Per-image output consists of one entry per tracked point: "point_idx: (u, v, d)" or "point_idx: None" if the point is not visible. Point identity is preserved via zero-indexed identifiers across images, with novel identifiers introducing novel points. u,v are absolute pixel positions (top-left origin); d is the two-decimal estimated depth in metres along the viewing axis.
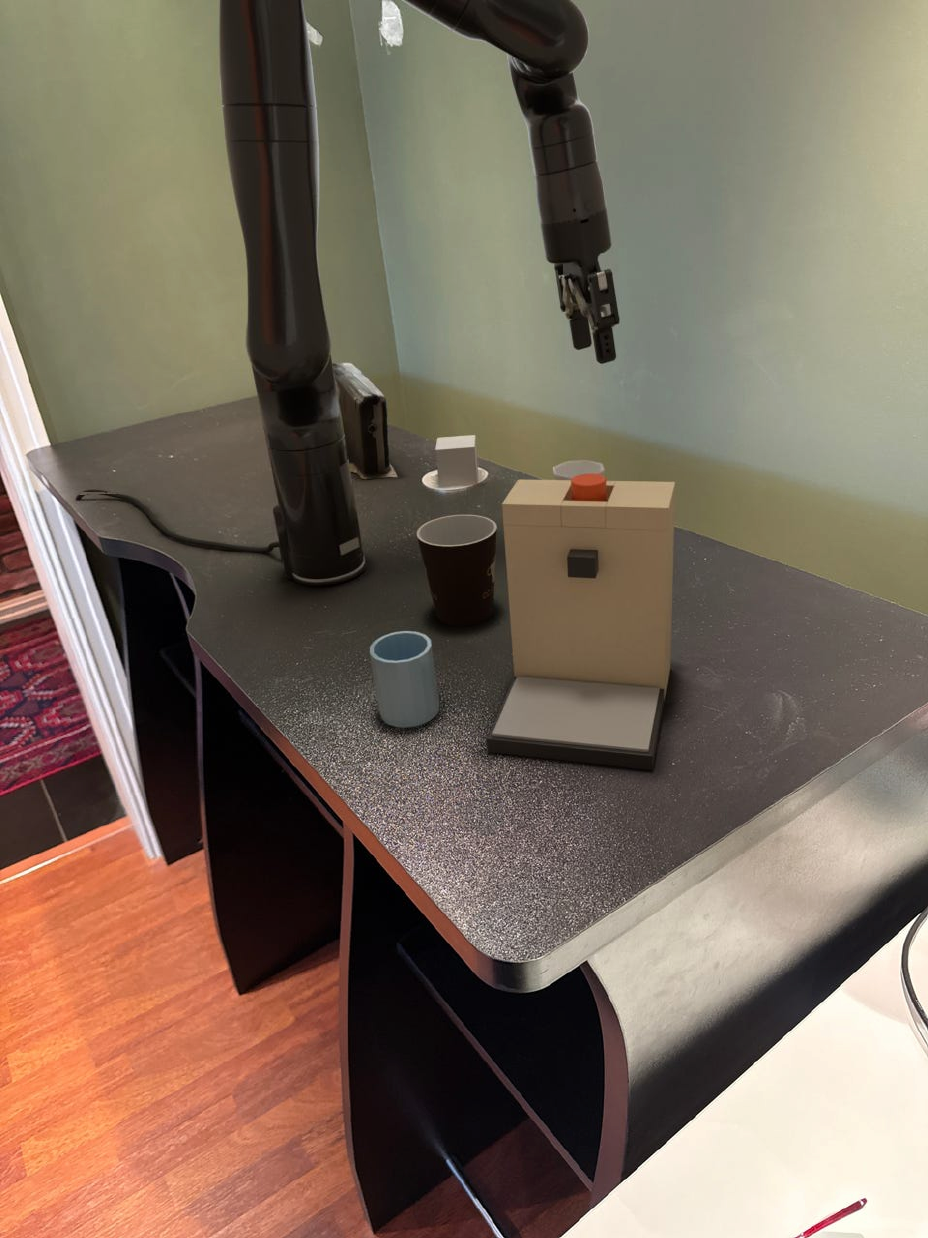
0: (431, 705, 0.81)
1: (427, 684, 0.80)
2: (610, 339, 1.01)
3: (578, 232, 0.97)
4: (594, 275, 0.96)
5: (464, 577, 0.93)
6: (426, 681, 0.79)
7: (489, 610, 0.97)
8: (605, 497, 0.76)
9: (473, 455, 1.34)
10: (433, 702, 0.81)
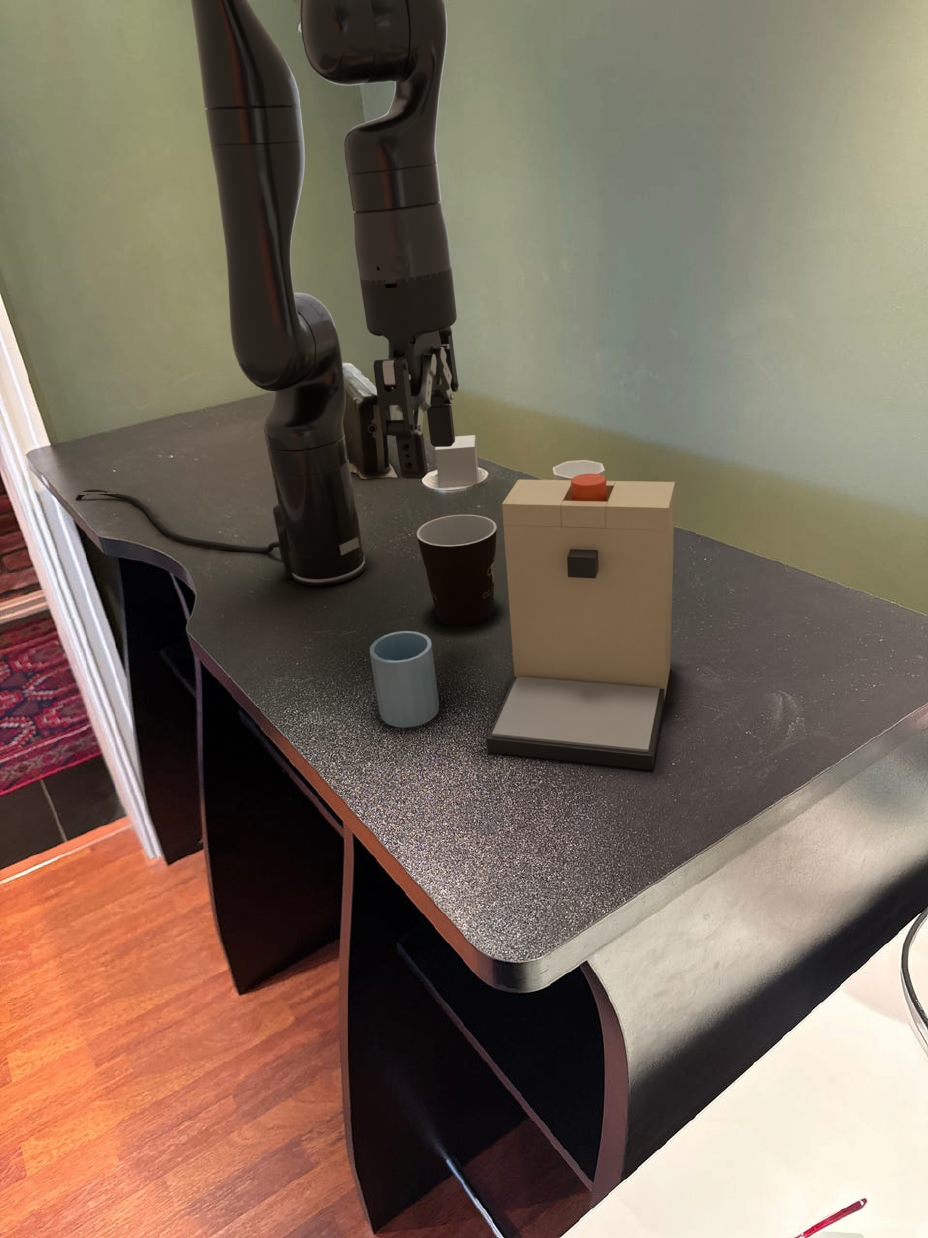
0: (431, 705, 0.81)
1: (427, 684, 0.80)
2: (412, 451, 0.73)
3: (383, 299, 0.69)
4: (379, 363, 0.69)
5: (464, 577, 0.93)
6: (426, 681, 0.79)
7: (489, 610, 0.97)
8: (605, 497, 0.76)
9: (473, 455, 1.34)
10: (433, 702, 0.81)
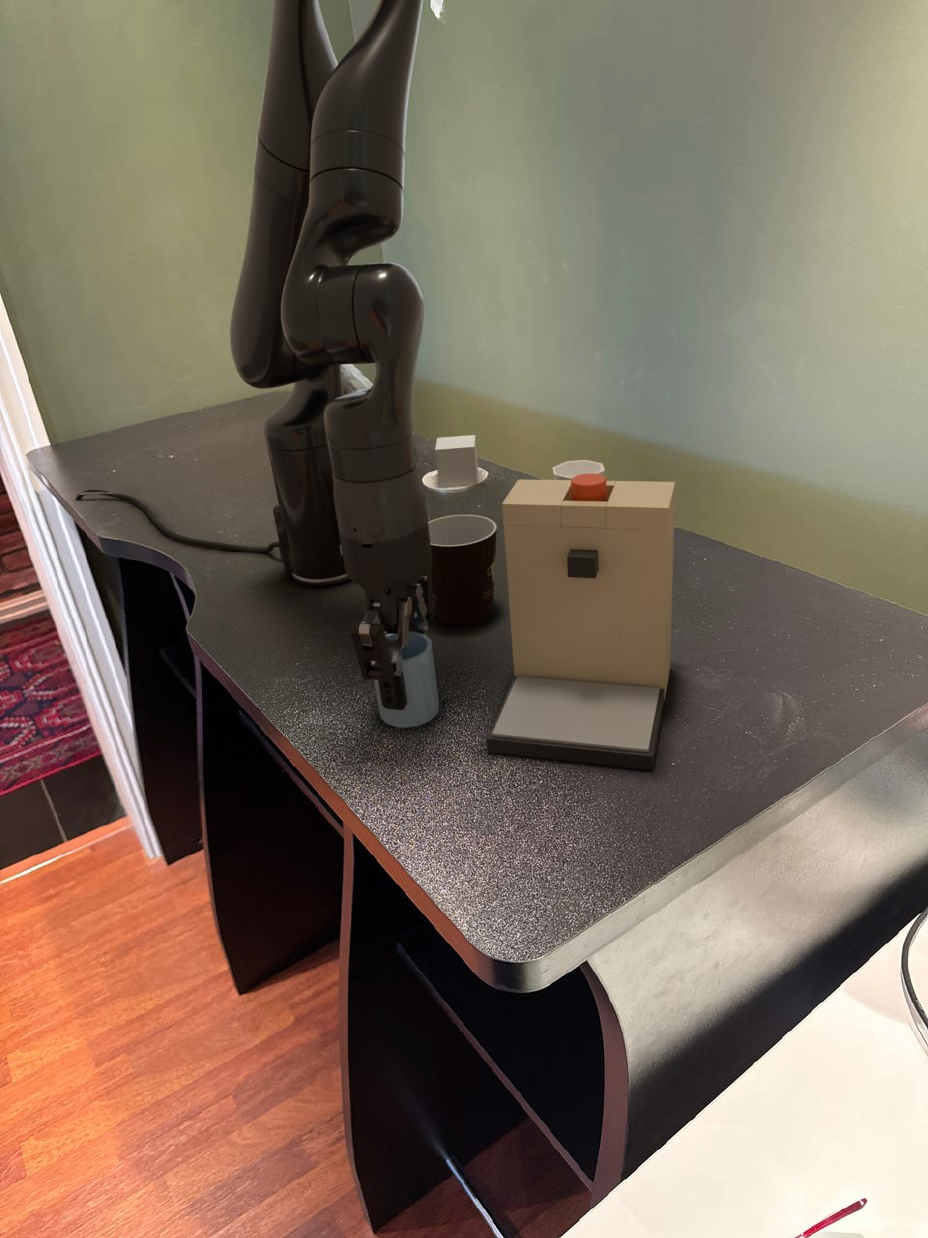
0: (431, 705, 0.81)
1: (427, 684, 0.80)
2: (392, 689, 0.77)
3: (359, 556, 0.72)
4: (355, 629, 0.72)
5: (464, 577, 0.93)
6: (426, 681, 0.79)
7: (489, 610, 0.97)
8: (605, 497, 0.76)
9: (473, 455, 1.34)
10: (433, 702, 0.81)
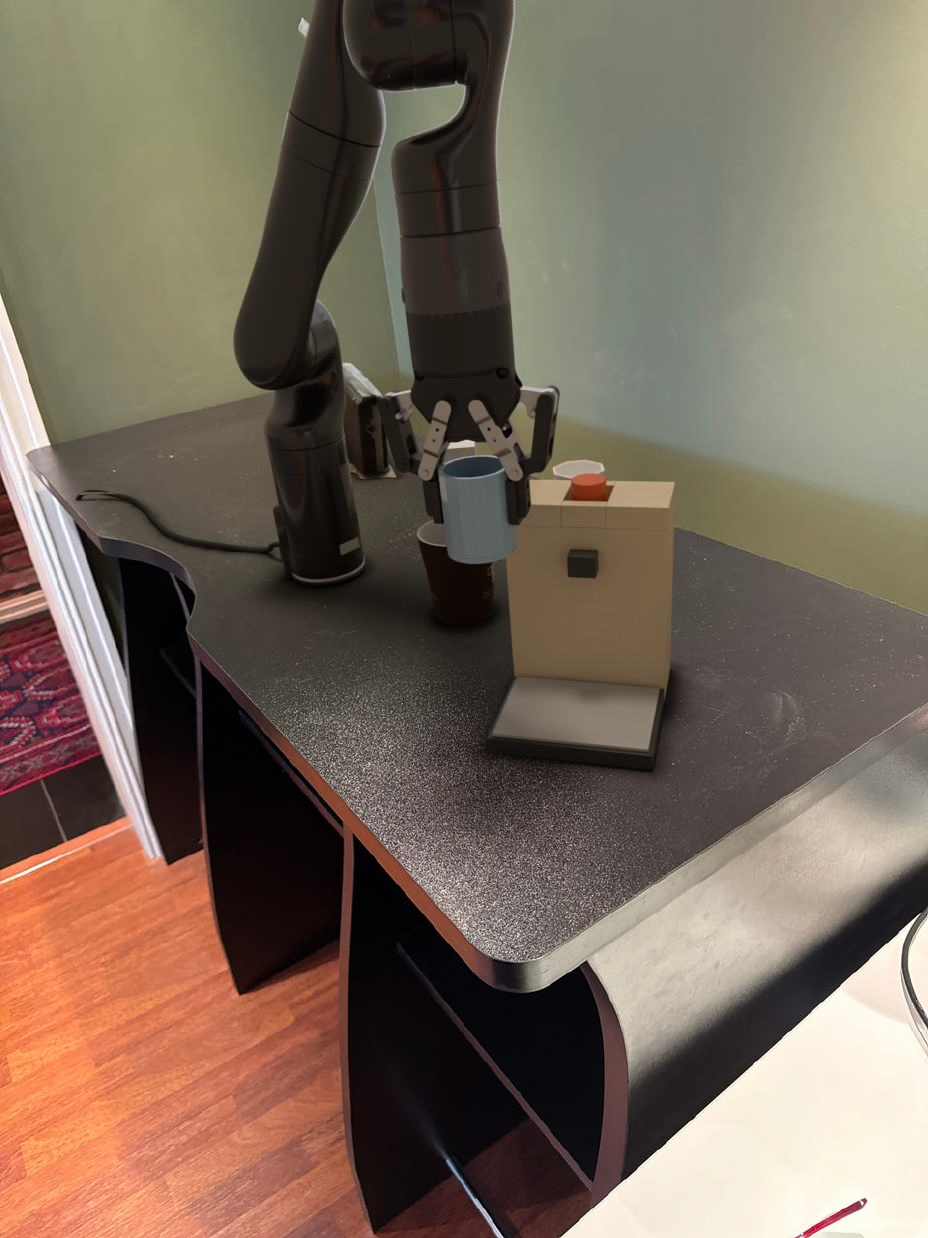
0: (459, 545, 0.69)
1: (454, 517, 0.68)
2: None
3: None
4: None
5: (464, 577, 0.93)
6: (453, 512, 0.68)
7: (489, 610, 0.97)
8: (605, 497, 0.76)
9: (473, 455, 1.34)
10: (463, 545, 0.69)
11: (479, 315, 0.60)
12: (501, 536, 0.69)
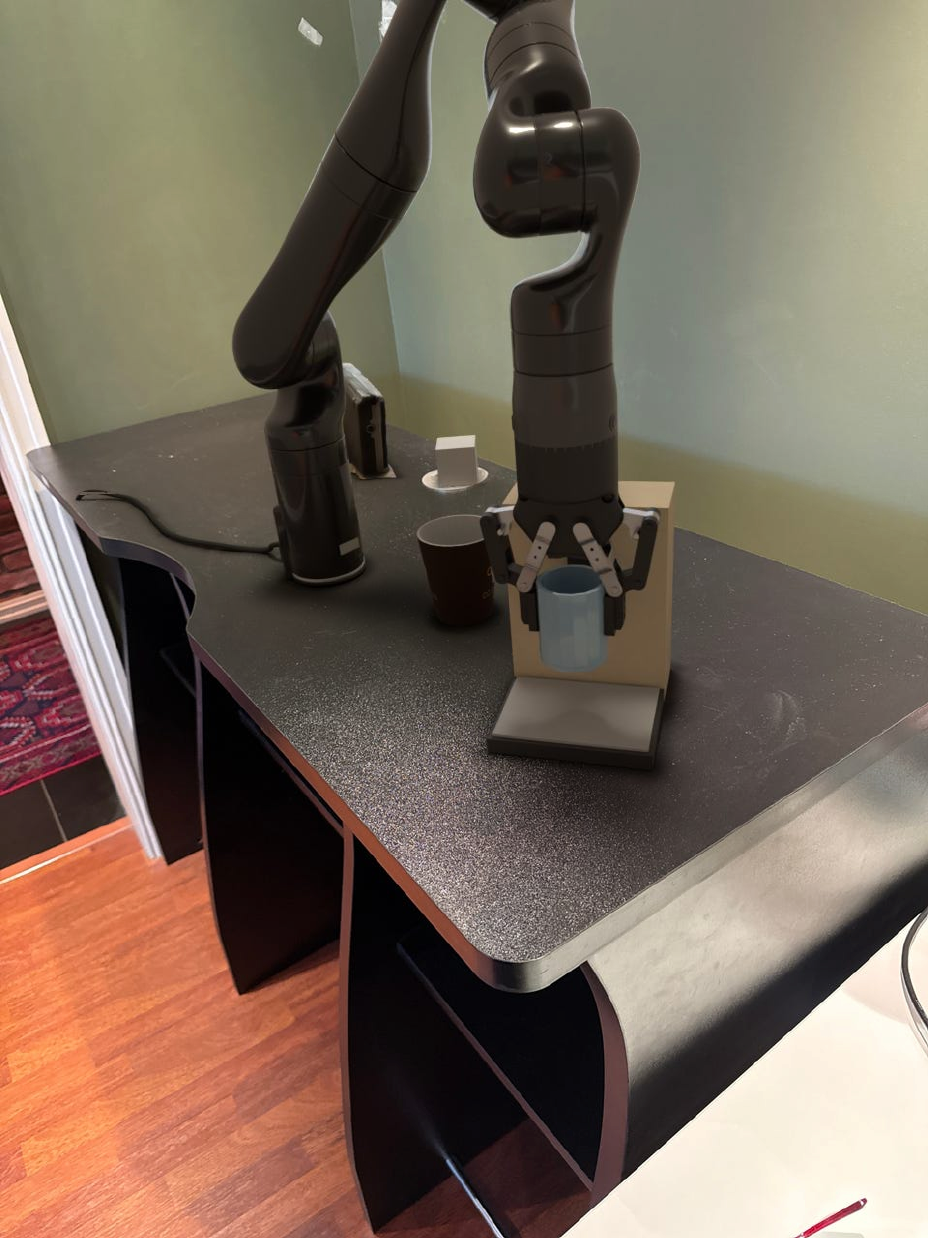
0: (556, 655, 0.71)
1: (553, 629, 0.70)
2: None
3: None
4: None
5: (464, 577, 0.93)
6: (552, 624, 0.69)
7: (489, 610, 0.97)
8: None
9: (473, 455, 1.34)
10: (560, 655, 0.70)
11: (591, 448, 0.61)
12: (597, 647, 0.70)
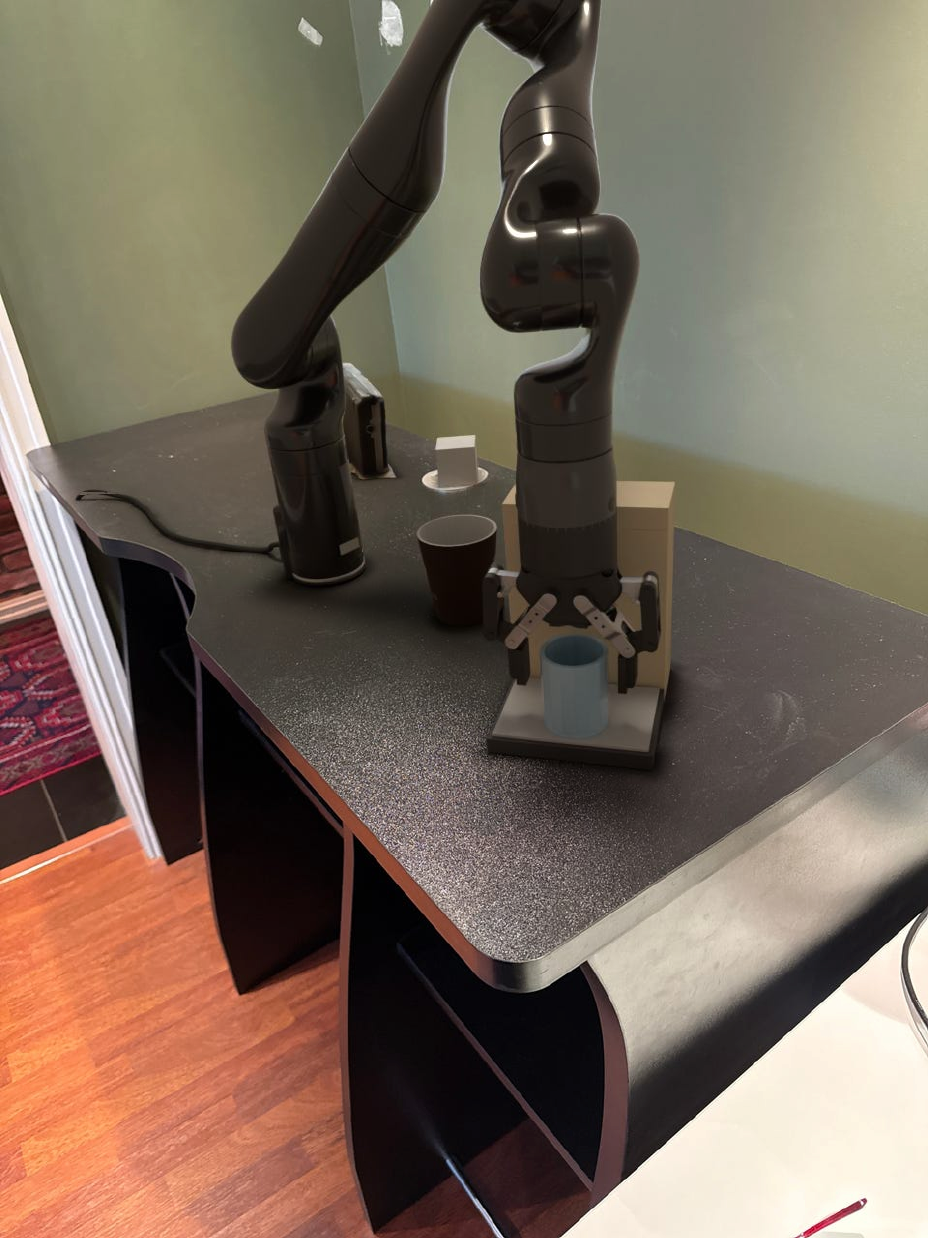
0: (559, 722, 0.74)
1: (556, 698, 0.73)
2: None
3: None
4: (490, 568, 0.72)
5: (464, 577, 0.93)
6: (555, 693, 0.73)
7: None
8: None
9: (473, 455, 1.34)
10: (562, 722, 0.73)
11: (591, 529, 0.64)
12: (598, 714, 0.73)
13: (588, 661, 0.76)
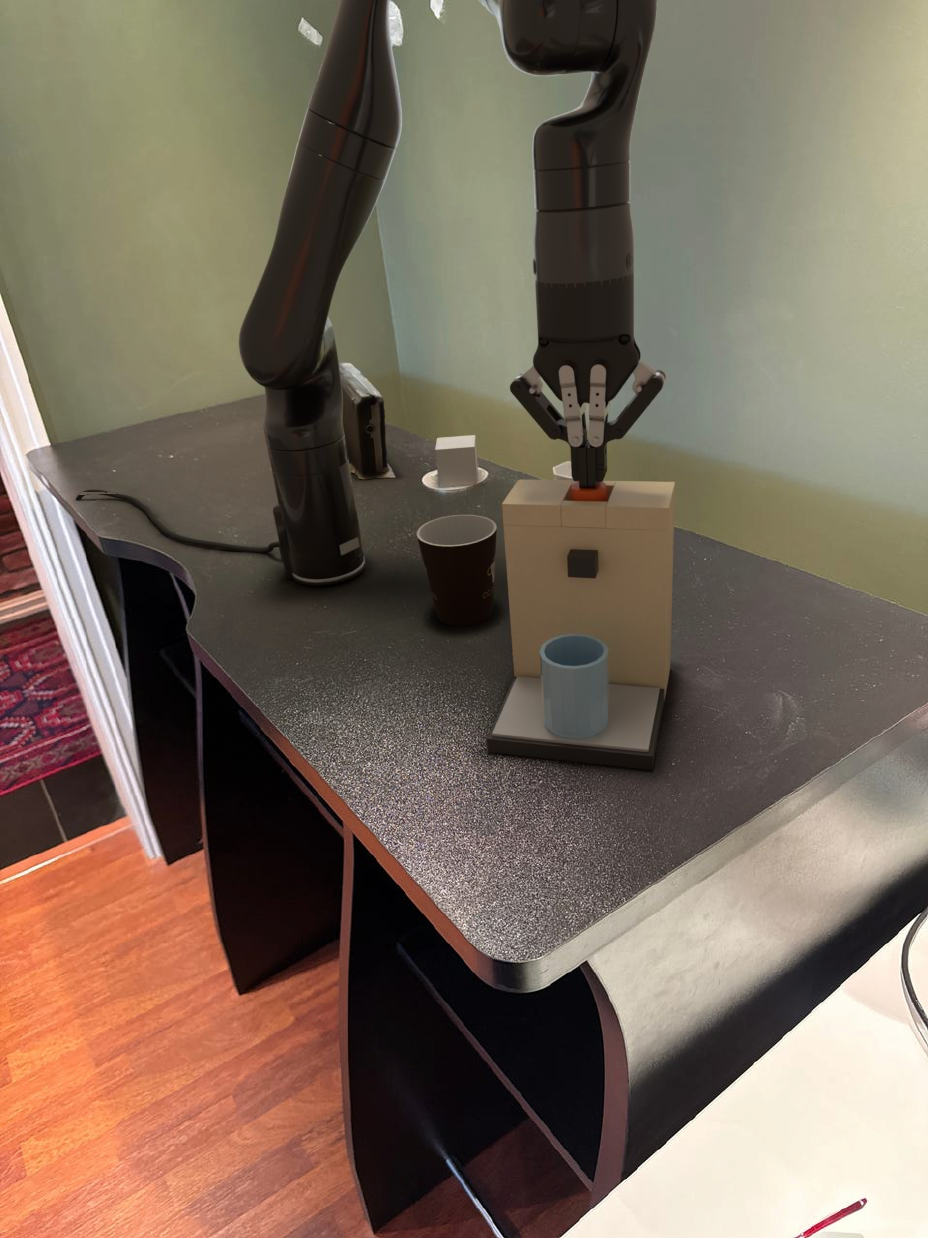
0: (559, 722, 0.74)
1: (556, 698, 0.73)
2: (571, 457, 0.75)
3: None
4: None
5: (464, 577, 0.93)
6: (555, 693, 0.73)
7: (489, 610, 0.97)
8: None
9: (473, 455, 1.34)
10: (562, 722, 0.73)
11: (609, 284, 0.65)
12: (598, 714, 0.73)
13: (588, 661, 0.76)
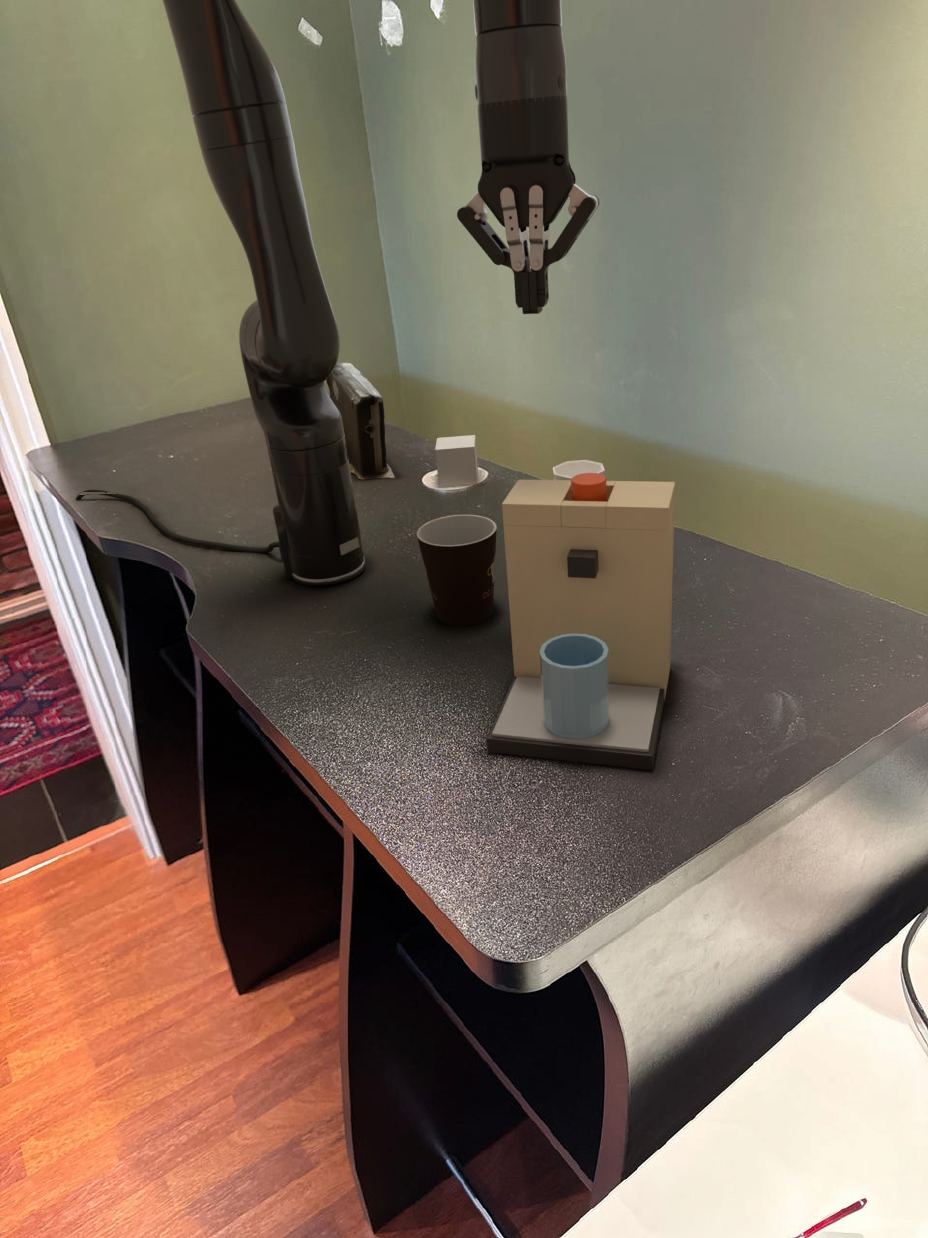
0: (559, 722, 0.74)
1: (556, 698, 0.73)
2: (515, 283, 0.81)
3: None
4: None
5: (464, 577, 0.93)
6: (555, 693, 0.73)
7: (489, 610, 0.97)
8: (605, 496, 0.76)
9: (473, 455, 1.34)
10: (562, 722, 0.73)
11: (542, 101, 0.71)
12: (598, 714, 0.73)
13: (588, 661, 0.76)
